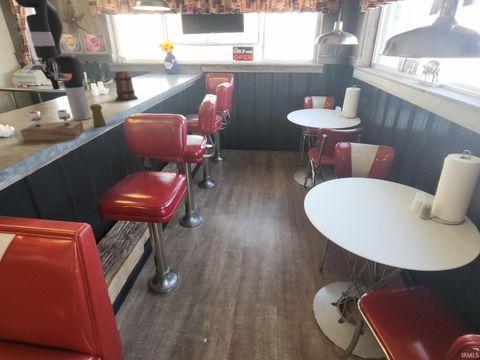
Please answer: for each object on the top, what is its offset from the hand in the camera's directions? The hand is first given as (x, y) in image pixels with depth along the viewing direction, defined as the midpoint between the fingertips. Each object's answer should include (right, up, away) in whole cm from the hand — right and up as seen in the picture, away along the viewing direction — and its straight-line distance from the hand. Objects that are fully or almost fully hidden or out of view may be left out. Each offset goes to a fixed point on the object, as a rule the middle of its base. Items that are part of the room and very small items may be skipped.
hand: (56, 89), depth 122 cm
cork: (+7, -11, +25) cm, 28 cm away
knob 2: (0, -14, +7) cm, 16 cm away
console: (-6, -19, +8) cm, 21 cm away
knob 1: (-12, -15, +5) cm, 20 cm away
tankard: (-9, +25, +100) cm, 103 cm away
